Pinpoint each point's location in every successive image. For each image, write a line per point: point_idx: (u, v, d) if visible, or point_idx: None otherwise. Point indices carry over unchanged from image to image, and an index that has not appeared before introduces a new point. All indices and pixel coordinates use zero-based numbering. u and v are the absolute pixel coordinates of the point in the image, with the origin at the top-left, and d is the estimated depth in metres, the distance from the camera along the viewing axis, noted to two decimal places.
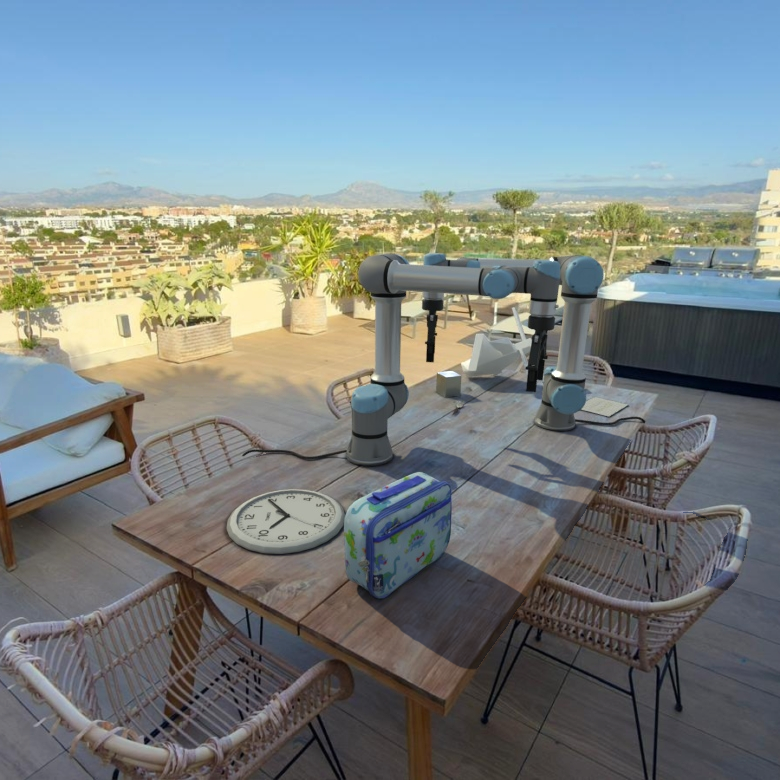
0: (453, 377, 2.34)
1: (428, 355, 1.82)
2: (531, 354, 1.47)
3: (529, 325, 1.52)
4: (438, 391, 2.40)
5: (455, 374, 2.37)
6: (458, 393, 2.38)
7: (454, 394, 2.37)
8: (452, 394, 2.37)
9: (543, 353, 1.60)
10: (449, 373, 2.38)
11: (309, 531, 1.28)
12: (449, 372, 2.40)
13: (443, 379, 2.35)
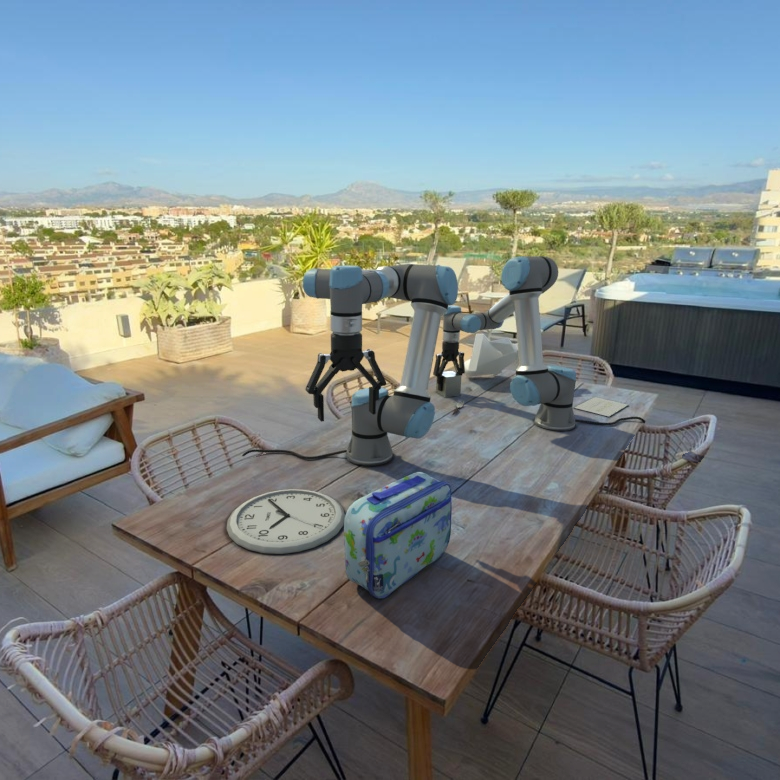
0: (453, 377, 2.34)
1: None
2: (312, 374, 1.25)
3: None
4: (438, 391, 2.40)
5: (455, 374, 2.37)
6: (458, 393, 2.38)
7: (454, 394, 2.37)
8: (452, 394, 2.37)
9: (369, 381, 1.30)
10: (449, 373, 2.38)
11: (309, 531, 1.28)
12: (449, 372, 2.40)
13: (443, 379, 2.35)
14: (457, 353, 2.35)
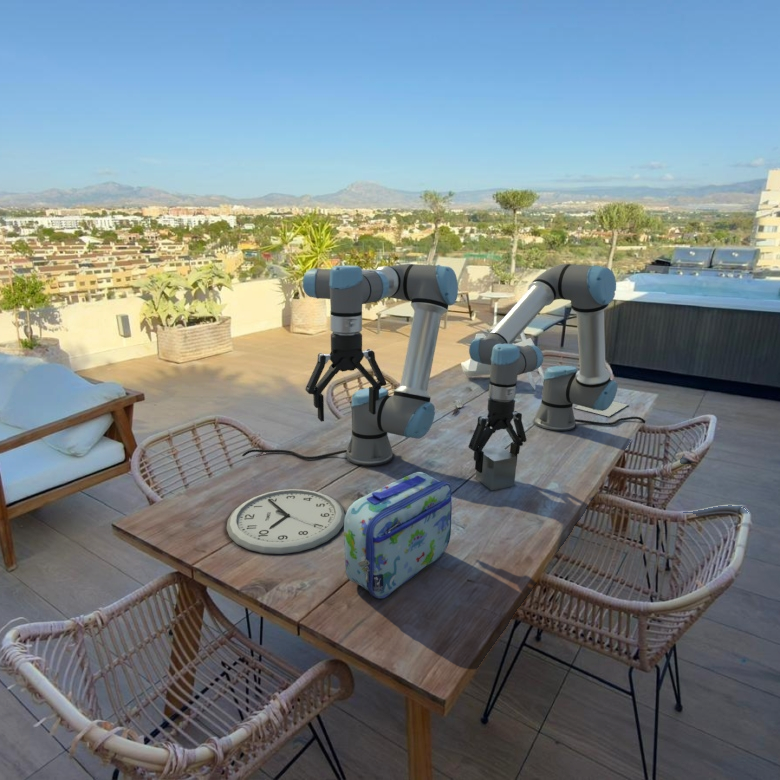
0: (505, 460, 1.51)
1: None
2: (312, 374, 1.25)
3: None
4: (480, 478, 1.57)
5: (507, 454, 1.54)
6: (511, 483, 1.55)
7: (505, 485, 1.54)
8: (502, 485, 1.54)
9: (369, 381, 1.30)
10: (498, 452, 1.55)
11: (309, 531, 1.28)
12: (496, 449, 1.57)
13: (489, 464, 1.52)
14: (511, 417, 1.52)
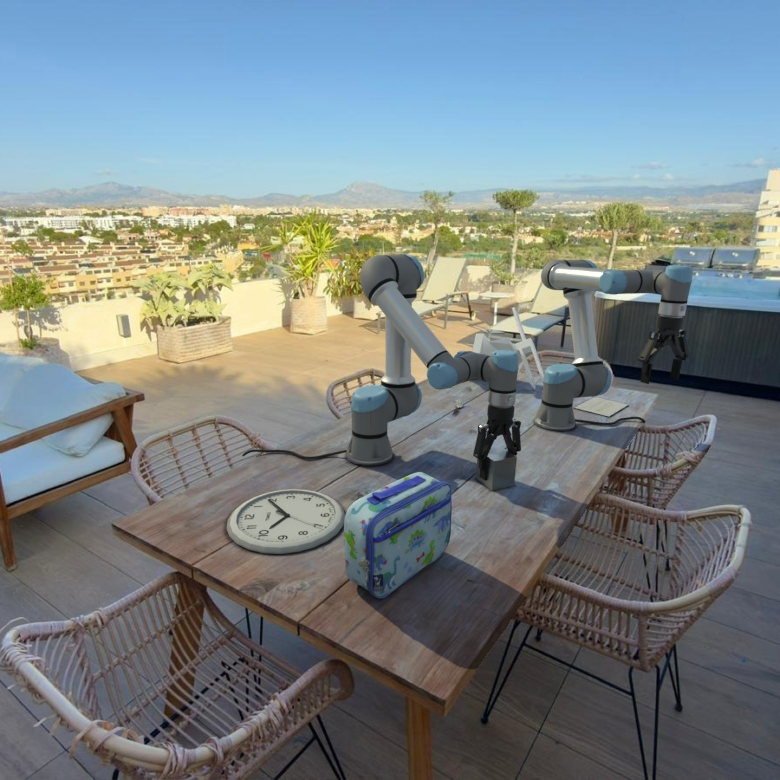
0: (505, 460, 1.51)
1: None
2: (476, 443, 1.51)
3: None
4: (480, 478, 1.57)
5: (507, 454, 1.54)
6: (511, 483, 1.55)
7: (505, 485, 1.54)
8: (502, 485, 1.54)
9: (509, 446, 1.55)
10: (498, 452, 1.55)
11: (309, 531, 1.28)
12: (496, 449, 1.57)
13: (489, 464, 1.52)
14: (677, 334, 1.66)
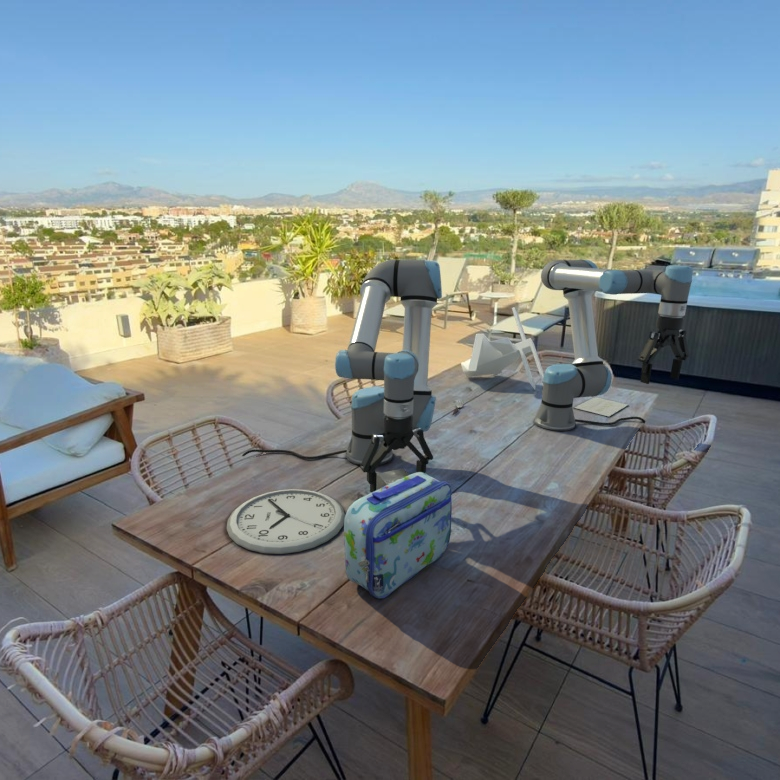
0: None
1: None
2: (366, 453, 1.34)
3: None
4: None
5: None
6: None
7: None
8: None
9: (417, 456, 1.39)
10: (398, 476, 1.39)
11: (309, 531, 1.28)
12: (398, 473, 1.41)
13: None
14: (677, 334, 1.66)
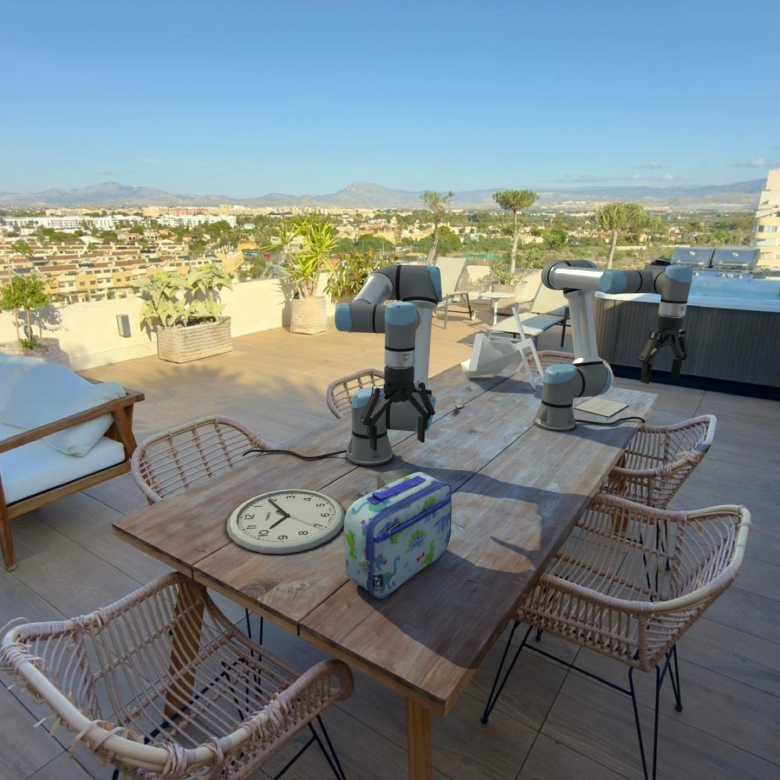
0: None
1: None
2: (366, 406, 1.30)
3: None
4: None
5: None
6: None
7: None
8: None
9: (419, 411, 1.35)
10: (398, 476, 1.39)
11: (309, 531, 1.28)
12: (398, 473, 1.41)
13: None
14: (677, 334, 1.66)
